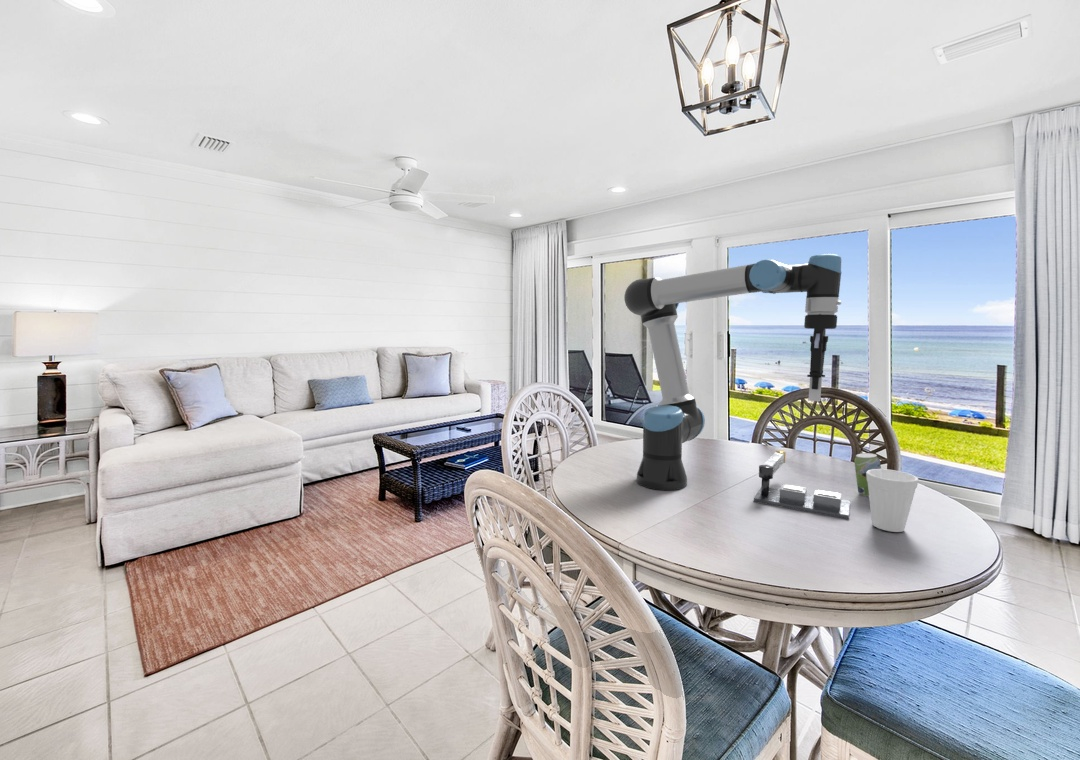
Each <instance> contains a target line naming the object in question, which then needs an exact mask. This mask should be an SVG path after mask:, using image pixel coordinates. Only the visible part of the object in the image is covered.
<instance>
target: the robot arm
mask: <svg viewBox="0 0 1080 760" xmlns="http://www.w3.org/2000/svg"><path fill="white" fill-rule="evenodd" d="M808 259H809V260H808V263H802V264H789V265H788V264H785V263H782V262H779V261H778V260H776V259H772V258H770V259H768V258H767V259H761V260H760V261H757V262H756V263H750V264H743V265H740V266H739V265H738V266H734V267H733V266H732V267H727V268H722V269H715V270H710V271H704V272H700V273H694V274H688V275H681V276H677V277H671V278H664V279H662V278H661V277H660V276H659V277H658V276H656V277H651V278H649V277H648V278H639V279H636V280H634V281H632V282H631V283H630V284H628V286H627V287H626V289H625V292H624V303H625V306H626V307H627V309H628V311H629V312H631V313H632V314H634V315H637V316H640V319H641V322H642V323H641V324H642V325H643V326H644V327H645V328H647V331H648V335H649V339H650V344H651V345H650V346H651V348H652V353H653V359H654V363H655V367H656V368H655V369H656V372H657V377H658V382H659V386H660V387H659V388H660V393H661V397H662V399H661V401H660V402H659V403H658V406H657V405H655V406H652V407H648V408H647V409H646V410H645V411H644V413H643V419H642V427H643V428H642V459H641V461H640V464H639V466H638V467H639V468H638V470H637V473H636V482H637V484H639V485H640V486H642V487H645V488H648V489H652V490H656V491H657V490H659V491H676V490H682V489H684V488H686V487H687V485H688V476H687V473H686V470H685V466H684V464H683V463H684V462H683V459H682V457H683V456H682V455H683V453H682V452H683V451H682V450H683V448H682V447H683V444H684V443H685V442H689V441H693V440H694V439H695V438H697V437H698V436H699V435H700V434H701V433H702V432H703V430H704V427H705V425H706V423H705V421H706V419H705V414H704V413H703V411H702V409H701V408H700V407H698V405H697V402H696V398H695V396H693V395H691V394H690V393H689V388H688V383H687V377H686V374H685V368H684V363H683V359H682V353H681V350H680V345H679V340H678V336H677V330H676V326H675V322H676V321H677V319H678V317H679V315H678V311H677V309H678V307H679V304H681V303H682V304H683V303H688V302H695V301H703V300H709V299H710V300H711V299H716V298H723V297H730V296H731V297H732V296H739V295H744V294H752V293H753V294H754V293H763V294H773V295H775V294H783V293H784V294H788V293H806V296H805V297H806V298H805V309H804V312H805V313H806V314H805V315H804V325H803V327H804V329H806V330H807V329H811V330H812V329H813V335H810V337H809V342H810V364H809V365H810V366H809V369H810V370H809V373H808V374H807V375H806V377H807V378H809V385H808V386H809V387H808V398H807V399H808V401H811V402H821V396H822V384H823V383H822V381H823V378H825V377H826V374H823V373H824V366H825V365H824V363H825V352H826V351H827V344H828V341H829V335H826V330H827V329H828V330H835V329H836V328H837V324H838V315H836V314H835V313H838V310H839V306H840V305H842V301H841V300H839V297H840V291H841V290H840V287H841V279H842V277H841V276H842V257H841V256H840V255H838V254H834V253H832V254H831V253H828V254H827V253H826V254H825V253H824V254H817V255H816V254H814V255H811V256H810V257H809V258H808Z"/></svg>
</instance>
